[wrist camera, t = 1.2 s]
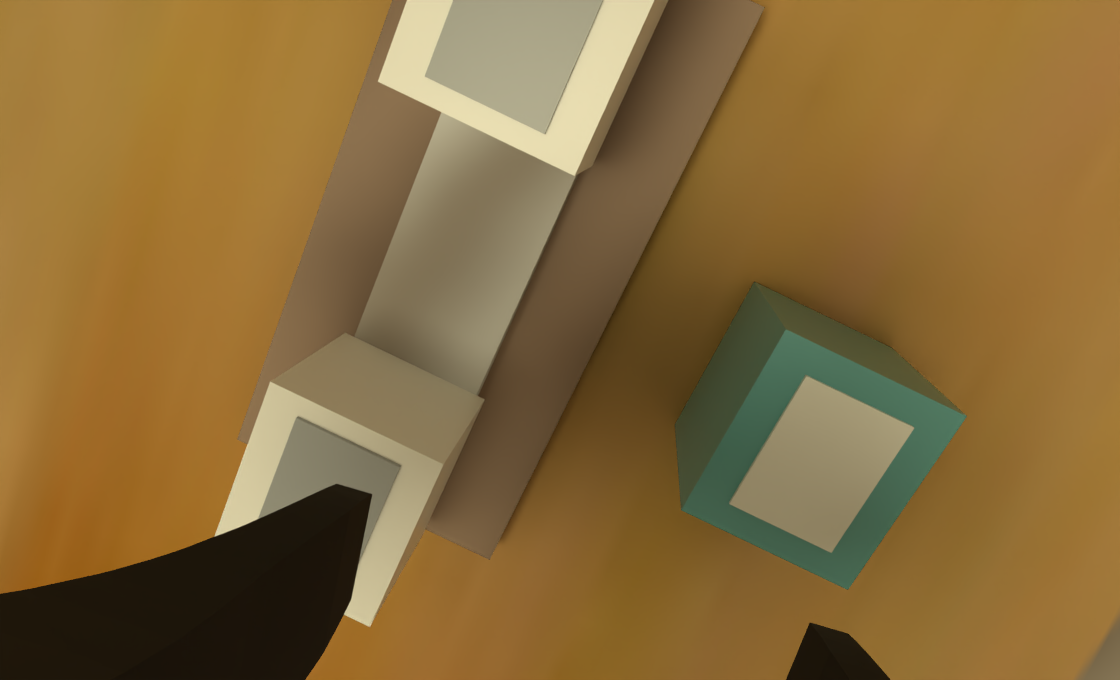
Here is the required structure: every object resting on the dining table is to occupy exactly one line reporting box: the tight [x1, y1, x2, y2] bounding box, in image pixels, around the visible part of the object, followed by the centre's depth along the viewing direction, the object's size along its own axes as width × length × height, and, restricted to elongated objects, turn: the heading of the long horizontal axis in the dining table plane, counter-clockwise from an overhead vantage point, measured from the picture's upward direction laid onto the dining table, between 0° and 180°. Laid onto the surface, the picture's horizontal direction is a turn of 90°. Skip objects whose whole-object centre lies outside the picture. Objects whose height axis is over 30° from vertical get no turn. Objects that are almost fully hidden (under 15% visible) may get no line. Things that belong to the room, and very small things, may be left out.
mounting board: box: [237, 0, 765, 560], centre depth 20 cm, size 8×16×2 cm, turn 155°
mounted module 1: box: [215, 333, 485, 627], centre depth 18 cm, size 4×4×4 cm
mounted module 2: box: [378, 0, 668, 176], centre depth 15 cm, size 4×4×4 cm
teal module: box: [675, 282, 967, 590], centre depth 18 cm, size 4×4×5 cm
